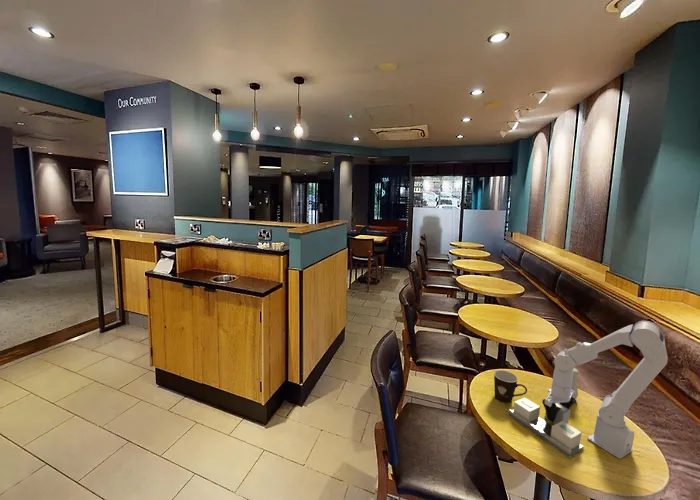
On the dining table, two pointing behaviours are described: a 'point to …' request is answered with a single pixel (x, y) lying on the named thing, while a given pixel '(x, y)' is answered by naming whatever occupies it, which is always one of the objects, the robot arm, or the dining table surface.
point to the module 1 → (526, 409)
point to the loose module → (561, 414)
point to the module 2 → (566, 435)
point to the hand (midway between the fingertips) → (556, 417)
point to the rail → (544, 433)
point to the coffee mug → (506, 386)
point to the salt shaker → (575, 383)
